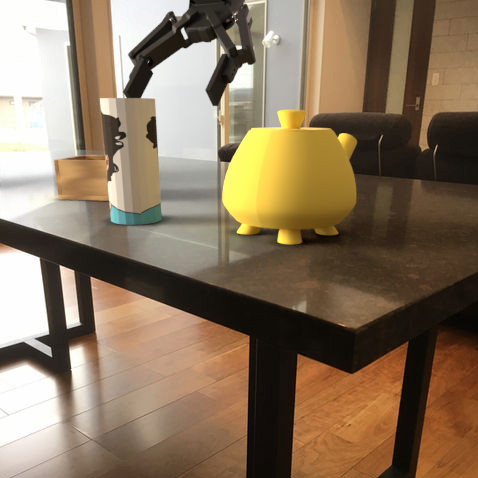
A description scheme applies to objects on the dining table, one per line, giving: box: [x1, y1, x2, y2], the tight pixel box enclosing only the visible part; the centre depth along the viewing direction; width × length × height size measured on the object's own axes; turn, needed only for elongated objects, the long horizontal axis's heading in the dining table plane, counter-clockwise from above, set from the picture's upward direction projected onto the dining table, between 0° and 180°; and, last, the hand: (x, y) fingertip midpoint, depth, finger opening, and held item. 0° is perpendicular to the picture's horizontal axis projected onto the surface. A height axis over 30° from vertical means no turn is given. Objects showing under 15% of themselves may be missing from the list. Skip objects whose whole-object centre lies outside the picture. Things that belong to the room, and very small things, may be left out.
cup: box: [99, 97, 163, 226], centre depth 67 cm, size 7×7×15 cm
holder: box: [53, 154, 109, 202], centre depth 89 cm, size 11×11×6 cm
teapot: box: [222, 109, 358, 245], centre depth 61 cm, size 20×16×14 cm
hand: (168, 99), depth 71 cm, fingers open, 13 cm apart
